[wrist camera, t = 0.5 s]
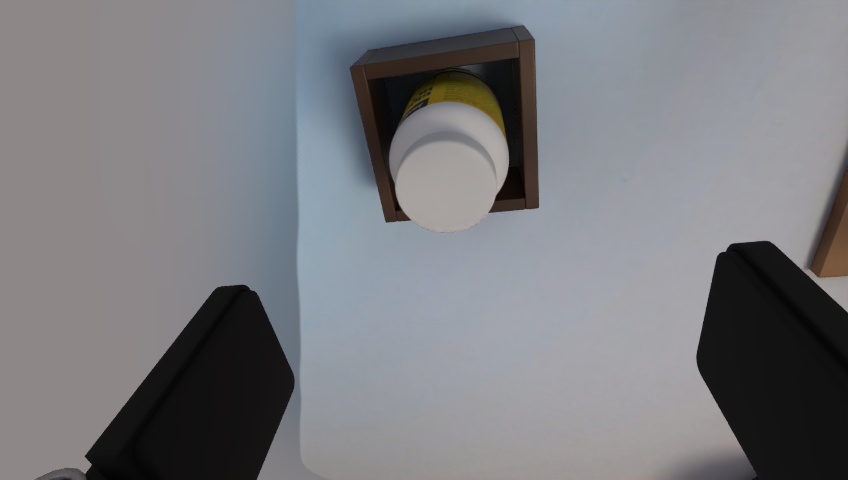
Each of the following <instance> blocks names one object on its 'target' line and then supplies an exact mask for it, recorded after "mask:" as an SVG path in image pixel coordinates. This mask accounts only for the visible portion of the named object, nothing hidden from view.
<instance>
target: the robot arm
mask: <svg viewBox="0 0 848 480" xmlns="http://www.w3.org/2000/svg"><path fill="white" fill-rule="evenodd" d="M696 358H697V366H698V369H699V372H700V374H701V376H702V378H703V379H704V381H705V383H706V385H707V387H708V388H709V390H710V392H711V394H712V395H713V397H714V399H715V401H716V403H717V404H718V406H719V408H720V410H721V412H722V413H723V415H724V417H725V419H726V420H727V422H728V424H729V426H730V428H731V429H732V431H733V433H734V435H735V437H736V438H737V440H738V442H739V444H740V445H741V447H742V449H743V451H744V453H745V454H746V456H747V458H748V460H749V461H750V463H751V465H752V467H753V469H754V470H755V472H756V474H757V476H758V478H759V479H760V480H848V312H846V311H845V310H844V309H843V308H842V307H841V306H840V305H839V304H838V303H837V302H836V301H835V300H833V299H832V298H831V297H830V296H829V295H828V294H827V293H826V292H825V291H824V290H823V289H822V288H821V287H819V286H818V285H817V284H816V283H815V282H814V281H813V280H812V279H811V278H810V277H809V276H808V275H807V274H805V273H804V272H803V271H802V270H801V269H800V268H799V267H798V266H797V265H796V264H795V263H794V262H792V261H791V260H790V259H789V258H788V257H787V256H786V255H785V254H784V253H783V252H782V251H781V250H780V249H778V248H777V247H776V246H775V245H774V244H773V243H771V242H770V241H757V242H745V243H733V244H731V245H730V246H729V247H728V248H727V250H726V252H721V253H719V255H718V256H717V259H716V264H715V269H714V273H713V278H712V283H711V288H710V292H709V297H708V302H707V307H706V312H705V316H704V321H703V326H702V331H701V336H700V340H699V345H698V350H697V356H696ZM293 389H294V375H293V372H292V370H291V368H290V365H289V363H288V361H287V359H286V356H285V354H284V352H283V350H282V348H281V345H280V343H279V341H278V339H277V336H276V334H275V332H274V330H273V328H272V325H271V323H270V321H269V319H268V316H267V314H266V312H265V310H264V307H263V305H262V303H261V301H260V298H259V296H258V295H257V293H256V292H255V291H251V290H250V289H249V287H247V286H246V285H234V286H222V287H218V288H216V289H215V290H214V291H213V292H212V294H211V295H210V296H209V298H208V299H207V300H206V301H205V303H204V304H203V305H202V307H201V308H200V309H199V310H198V312H197V313H196V314H195V316H194V317H193V318H192V319H191V321H190V322H189V323H188V324H187V326H186V327H185V328H184V330H183V331H182V332H181V333H180V335H179V336H178V337H177V339H176V340H175V341H174V343H173V344H172V345H171V346H170V347H169V349H168V350H167V351H166V353H165V354H164V355H163V357H162V358H161V359H160V360H159V362H158V363H157V364H156V366H155V367H154V368H153V369H152V371H151V372H150V373H149V374H148V376H147V377H146V379H145V380H144V381H143V382H142V383H141V385H140V386H139V387H138V389H137V390H136V391H135V392H134V394H133V395H132V396H131V398H130V399H129V400H128V401H127V403H126V404H125V405H124V407H123V408H122V409H121V411H120V412H119V413H118V414H117V416H116V417H115V418H114V419H113V421H112V422H111V423H110V424H109V426H108V427H107V428H106V430H105V431H104V432H103V433H102V435H101V436H100V437H99V439H98V440H97V441H96V442H95V444H94V445H93V446H92V448H91V449H90V450H89V451H88V453H87V454H86V455H85V457H86V458H87V460H88V461H89V462H90V463H91V464H92V466H91V467H90V469H89V470H88V471H87V472H86V474H84V473H83V472H81V471H80V470H79V469H74V468H64V469H59V470H55V471H52V472H50V473H48V474H45V475H43V476H41V477H39V478H37V479H35V480H257V477H258V475H259V473H260V470H261V468H262V465H263V463H264V460H265V458H266V456H267V453H268V450H269V448H270V446H271V443H272V441H273V438H274V436H275V434H276V431H277V429H278V426H279V424H280V422H281V419H282V416H283V414H284V412H285V409H286V407H287V404H288V402H289V400H290V397H291V394H292V392H293Z"/></svg>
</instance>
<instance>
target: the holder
mask: <svg viewBox="0 0 848 480" xmlns="http://www.w3.org/2000/svg"><path fill="white" fill-rule="evenodd" d="M506 59H512V62H513V81H514V101H515V121H516V141H517V160H518V166H511V167H508V172H507V176H506V179H505V181H504V184H503V186H502V187H501V189H500V191H499V192H498V193H497V195H496V197H495V200H494V203H493V205H492V207H491V209H490V211H489V212H488V213H493V212H503V211H513V210H524V209H525V208H526V209H535V208H539V188H538V149H537V109H536V69H535V39H534V38H533V36H532V35H531V34H530V33H529V31H528V30H527V29H526V28H525V26H517V27H512V28H504V29H498V30H492V31H485V32H479V33H473V34H467V35H460V36H454V37H448V38H441V39H435V40H429V41H422V42H416V43H410V44H403V45H397V46H391V47H384V48H380V49H372V50H368V51H367V52H366V53H364V54H363V55H362V56H361V57H360V58H359V59H358V60H357V61H356V62H355V63H354V64H353V65H352V66H351V67H350V71H351V76H352V80H353V84H354V89H355V93H356V97H357V101H358V106H359V110H360V114H361V119H362V123H363V127H364V132H365V136H366V140H367V144H368V149H369V153H370V157H371V162H372V166H373V170H374V174H375V179H376V183H377V187H378V192H379V196H380V200H381V204H382V209H383V213H384V217H385V221H386V222H397V221H409V220H411V219H410V218H409V217H408V216H407V215H406V214H405V213H404V211H403V210H402V208H401V207H400V205H399V203H398V200H397V197H396V192H395V183H394V181H393V178H392V175H391V171H390V165H389V154H390V147H391V143H392V139H393V137H394V135H395V132H396V131H395V125H394V120H393V115H392V110H391V105H390V100H389V95H388V90H387V85H386V79H385V77H391V76H398V75H405V74H411V73H418V72H425V71H432V70H439V69H445V68H452V67H459V66H466V65H472V64H479V63H486V62H493V61H500V60H506Z"/></svg>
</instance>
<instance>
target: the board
mask: <svg viewBox="0 0 848 480" xmlns="http://www.w3.org/2000/svg"><path fill="white" fill-rule="evenodd" d="M810 270H811V271H812V272H813V273H814V274H815V275H816V276H817V277H819V278H821V277H836V276H848V168H847V170H846V173H845V176H844V179H843V181H842V184H841V187H840V190H839V192H838V195H837V198H836V201H835V203H834V206H833V209H832V212H831V214H830V217H829V220H828V222H827V225H826V228H825V231H824V233H823V236H822V239H821V242H820V244H819V247H818V250H817V253H816V255H815V258H814V261H813V264H812V266H811V269H810Z"/></svg>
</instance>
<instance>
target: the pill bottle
mask: <svg viewBox="0 0 848 480" xmlns="http://www.w3.org/2000/svg"><path fill="white" fill-rule="evenodd" d="M389 165H390V171H391V175H392V178H393V181H394V183H395V192H396V197H397V200H398V203H399V205H400V207H401V208H402V210H403V211H404V213H405V214H406V215H407V216H408V217H409V218H410V219H411V220H412V221H413V222H415V223H416V224H418V225H419V226H421V227H423V228H425V229H428V230H431V231H435V232H442V233H452V232H458V231H462V230H465V229H468V228H470V227H472V226H474V225H475V224H477V223H478V222H480V221H481V220H482V219H483V218H484V217H485V216H486V215H487V214H488V212H489V211H490V209H491V207H492V205H493V203H494V200H495V197H496V195H497V193H498V192H499V191H500V189H501V187H502V186H503V184H504V181H505V179H506V176H507V172H508V166H509V151H508V145H507V140H506V134H505V129H504V123H503V118H502V112H501V107H500V103H499V100H498V98H497V95H496V94H495V92H494V90H493V89H492V87H491V86H490V85H489V84H488V83H487V82H486V81H485V80H484V79H482V78H481V77H479V76H478V75H476V74H474V73H472V72H469V71H466V70H461V69H447V70H443V71H439V72H437V73H434V74H432V75H430V76H429V77H427V78H426V79H425V80H423V81H422V82H421V83H420V84H419V85H418V87H417V88H416V89H415V91H414V92H413V94H412V96H411V97H410V99H409V102H408V104H407V107H406V109H405V111H404V114H403V116H402V119H401V121H400V123H399V125H398V128H397V130H396V132H395V135H394V137H393V139H392V143H391V147H390V154H389Z"/></svg>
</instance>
